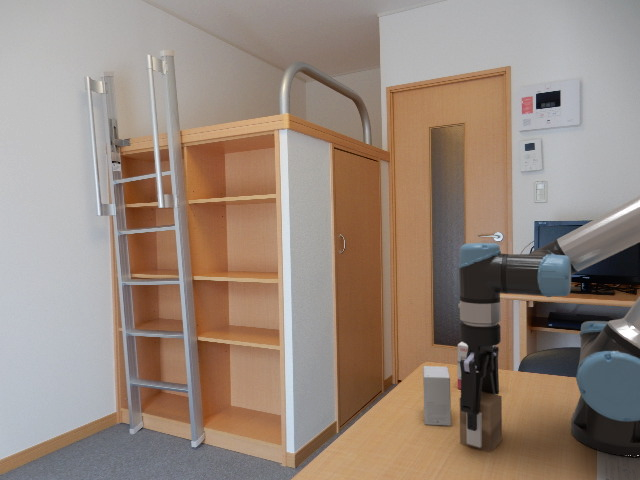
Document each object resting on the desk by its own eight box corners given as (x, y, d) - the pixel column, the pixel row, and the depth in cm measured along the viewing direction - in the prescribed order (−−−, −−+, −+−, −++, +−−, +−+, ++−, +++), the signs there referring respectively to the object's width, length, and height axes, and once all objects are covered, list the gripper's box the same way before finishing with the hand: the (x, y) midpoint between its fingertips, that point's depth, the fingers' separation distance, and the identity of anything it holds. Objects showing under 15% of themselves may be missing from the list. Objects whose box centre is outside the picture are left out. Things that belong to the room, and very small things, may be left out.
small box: (451, 426, 100) (450, 377, 99) (424, 425, 101) (423, 376, 101) (448, 411, 108) (448, 366, 107) (423, 410, 109) (422, 365, 108)
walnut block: (501, 440, 93) (501, 395, 93) (490, 452, 89) (490, 405, 88) (472, 432, 97) (472, 389, 97) (460, 443, 92) (459, 398, 92)
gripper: (480, 312, 101) (481, 417, 102) (439, 329, 87) (441, 451, 88) (515, 316, 97) (516, 426, 98) (479, 334, 82) (481, 464, 83)
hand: (481, 438), depth 93 cm, fingers closed on walnut block, 6 cm apart
